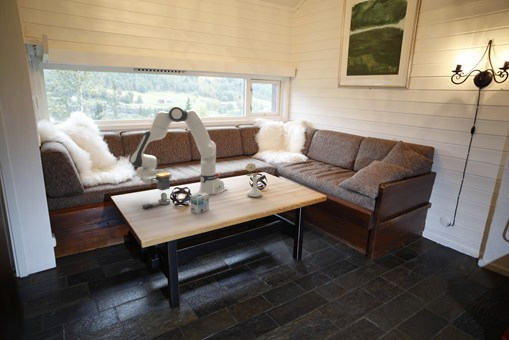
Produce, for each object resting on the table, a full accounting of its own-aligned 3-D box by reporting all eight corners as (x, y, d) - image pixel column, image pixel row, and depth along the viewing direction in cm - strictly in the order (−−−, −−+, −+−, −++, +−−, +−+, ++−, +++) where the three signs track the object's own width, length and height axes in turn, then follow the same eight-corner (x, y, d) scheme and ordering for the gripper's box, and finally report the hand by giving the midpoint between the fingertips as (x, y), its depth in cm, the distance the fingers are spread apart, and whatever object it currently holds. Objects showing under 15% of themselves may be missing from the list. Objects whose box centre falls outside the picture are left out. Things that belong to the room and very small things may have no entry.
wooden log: (164, 186, 209) (164, 172, 206) (169, 188, 205) (169, 174, 202) (156, 188, 204) (156, 174, 202) (161, 190, 200) (161, 176, 198)
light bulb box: (198, 214, 191) (197, 198, 188) (190, 211, 195) (189, 195, 192) (209, 209, 200) (209, 193, 197) (202, 206, 203) (201, 191, 200)
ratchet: (166, 200, 213) (165, 190, 211) (172, 203, 208) (172, 193, 206) (140, 207, 199) (140, 197, 197) (147, 210, 194) (146, 200, 192)
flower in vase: (262, 193, 232) (263, 161, 226) (261, 198, 221) (262, 165, 215) (245, 192, 233) (246, 160, 227) (243, 197, 222) (244, 164, 216)
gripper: (138, 174, 203) (149, 178, 194) (164, 169, 218) (176, 173, 209) (138, 183, 204) (149, 188, 196) (165, 177, 219) (176, 181, 211)
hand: (163, 180), depth 202 cm, fingers closed on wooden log, 6 cm apart
